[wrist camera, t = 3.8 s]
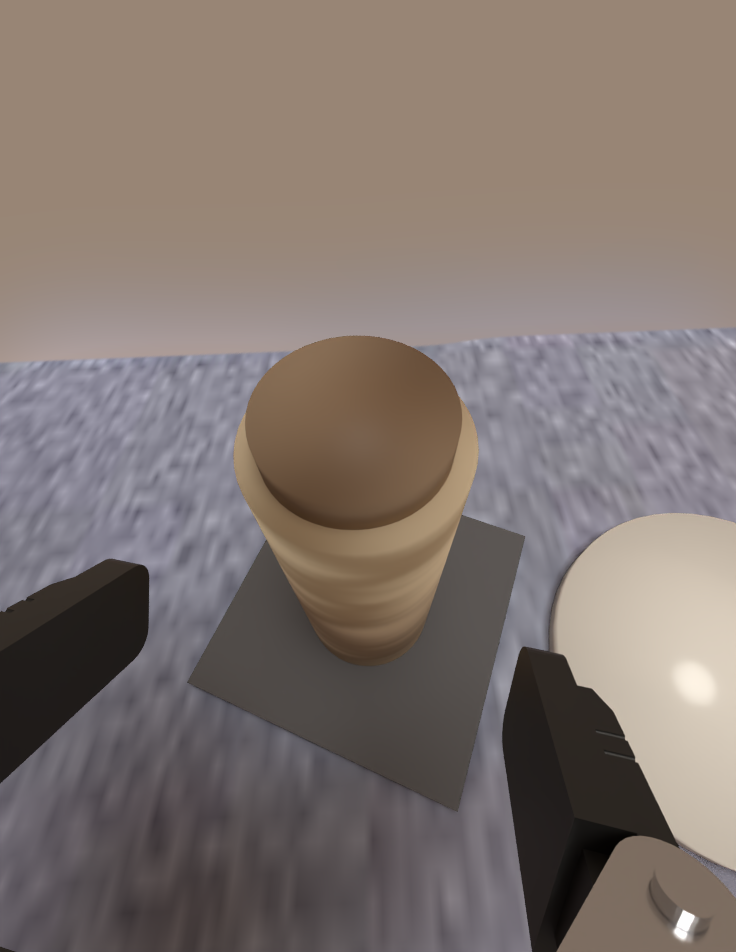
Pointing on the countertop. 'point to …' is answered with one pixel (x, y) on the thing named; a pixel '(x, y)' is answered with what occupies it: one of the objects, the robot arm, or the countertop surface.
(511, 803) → the robot arm
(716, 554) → the plate
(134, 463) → the countertop surface
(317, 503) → the pepper mill
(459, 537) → the mat
